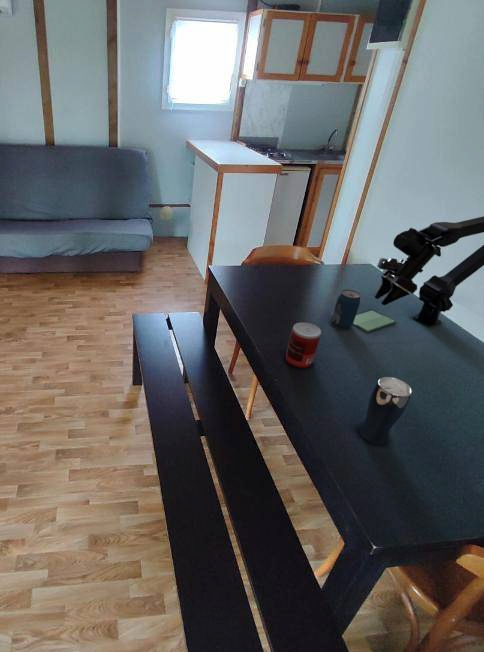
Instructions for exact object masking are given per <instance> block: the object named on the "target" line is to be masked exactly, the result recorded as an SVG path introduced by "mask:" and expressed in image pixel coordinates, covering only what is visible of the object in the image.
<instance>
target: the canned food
mask: <svg viewBox="0 0 484 652" xmlns="http://www.w3.org/2000/svg"><path fill="white" fill-rule="evenodd" d="M291 329H292V330H291V332H290V333H291V334H290V337H289V342H288V345H287V349H286V353H285V360H286V362H287V363H288V364H289V365H290V366H292V367H294V368H298V369H306V368H309V367H311V365H312V364H313V363H314V358H315V357H316V352H317V350H318V345H319V342H320V339H321V335H322V330H321V329H320V327H319V326H317V325H315V324H314V323H310V322H297V323H295V324H294V325H293V327H292V328H291Z"/></svg>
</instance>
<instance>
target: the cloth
mask: <svg viewBox="0 0 484 652" xmlns="http://www.w3.org/2000/svg"><path fill="white" fill-rule="evenodd" d="M395 322H396V320H394V319H392V318H389V317H387V316H386V315H382V314H380V313H378V312H376V311H374V310H369V311H366V312H363V313H359V314H356V317H355V320H354V322H353V325H354V326H355V327H357V328H359V329H361V330H362V331H365V332H366V333H368V332H371V331H373V330H377V329H380V328H383V327H386V326H389V325H392V324H395Z"/></svg>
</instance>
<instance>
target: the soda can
mask: <svg viewBox="0 0 484 652" xmlns="http://www.w3.org/2000/svg"><path fill="white" fill-rule="evenodd" d="M361 302H362V299H361V293H360V292H358V291H356V290H352V289H342V290H341V292H340V293H339V294H338V296H337V299H336V302H335V304H334V308H333V311H332V315H331V318H330V323H331V325H332V326H333V327H334V328H336V329H338V330H348V329H350V328H351V327H352V326H353V325H354V324H353V322H354V320H355V317H356V315H358V314H357V313H358V311H359V307H360V305H361Z"/></svg>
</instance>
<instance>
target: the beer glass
mask: <svg viewBox="0 0 484 652" xmlns="http://www.w3.org/2000/svg"><path fill="white" fill-rule="evenodd" d="M412 393H413V389H412V388H411V386H410V385H409V384H408V383H407V382H405V381H404V380H402V379H399V378H396V377H392V376H383V377H380V378H379V379H378V381H377V383H376V385H375V387H374V388H373V390H372V393H371V395H370V397H369V400H368V406H367V411H366V412H367V413H366V417H365V420H364V421H363V423H362V424H361V425H360V426H359V429H358V433H359V436H360V437H361V438H362V439H363V440H365V441H366V442H368V443H370V444H373V445H377V446H379V445H380V446H381V445H384V444H386V443H387V442H388V438H389V433H390V430H391V429H392V427H393V426H394V425H395V424H396V422H397V421H398V420H399V419H400V418H401V416H402V415H403V413H404V412H405V410H406V408H407V406H408V404H409V401H410V398H411V395H412Z"/></svg>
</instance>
